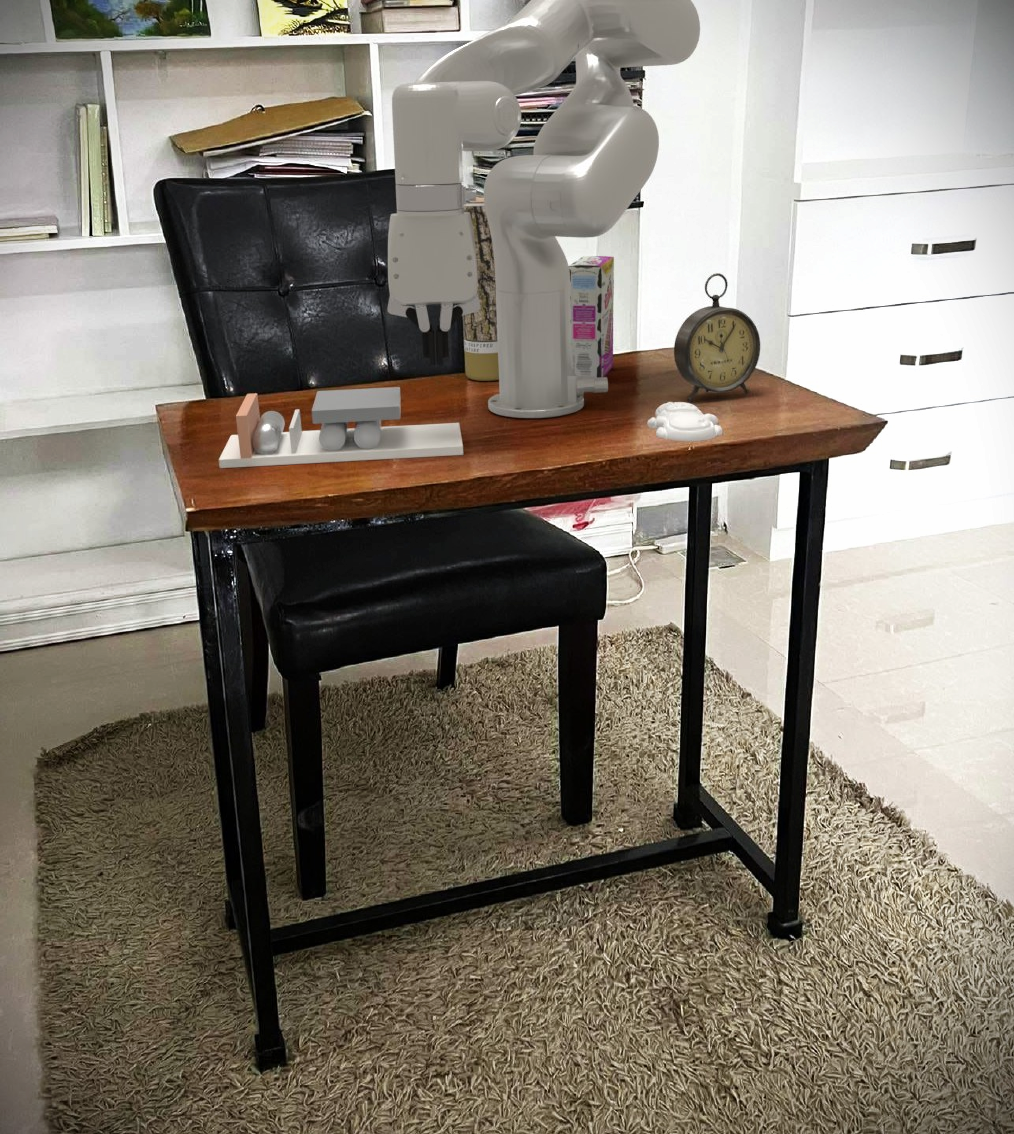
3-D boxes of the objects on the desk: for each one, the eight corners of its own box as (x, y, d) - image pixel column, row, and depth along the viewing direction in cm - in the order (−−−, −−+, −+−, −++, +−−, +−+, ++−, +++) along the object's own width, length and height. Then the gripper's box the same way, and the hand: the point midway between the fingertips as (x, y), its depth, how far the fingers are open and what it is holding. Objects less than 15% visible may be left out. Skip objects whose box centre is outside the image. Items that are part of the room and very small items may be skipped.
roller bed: (459, 430, 156) (457, 383, 154) (463, 454, 146) (460, 404, 143) (232, 442, 154) (226, 395, 152) (219, 468, 144) (213, 417, 142)
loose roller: (289, 428, 153) (276, 406, 152) (283, 447, 145) (270, 425, 144) (267, 439, 153) (255, 417, 152) (260, 459, 145) (247, 436, 144)
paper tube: (506, 382, 180) (500, 201, 171) (460, 382, 181) (452, 202, 172) (516, 372, 186) (510, 197, 177) (471, 372, 187) (463, 198, 178)
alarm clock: (686, 405, 163) (689, 279, 158) (668, 397, 168) (669, 274, 162) (760, 396, 167) (765, 272, 161) (740, 388, 172) (743, 267, 166)
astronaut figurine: (714, 417, 159) (715, 394, 157) (725, 444, 147) (726, 419, 146) (644, 419, 159) (645, 395, 158) (650, 445, 148) (651, 420, 147)
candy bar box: (602, 384, 177) (601, 265, 171) (568, 383, 178) (565, 265, 172) (615, 367, 187) (615, 254, 181) (582, 366, 188) (580, 254, 182)
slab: (400, 398, 153) (399, 386, 153) (400, 419, 144) (399, 406, 143) (318, 403, 153) (317, 391, 152) (312, 423, 143) (311, 411, 143)
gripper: (494, 197, 144) (497, 356, 150) (364, 200, 143) (372, 360, 149) (498, 201, 137) (502, 368, 143) (361, 204, 136) (371, 372, 142)
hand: (436, 363), depth 146 cm, fingers closed
